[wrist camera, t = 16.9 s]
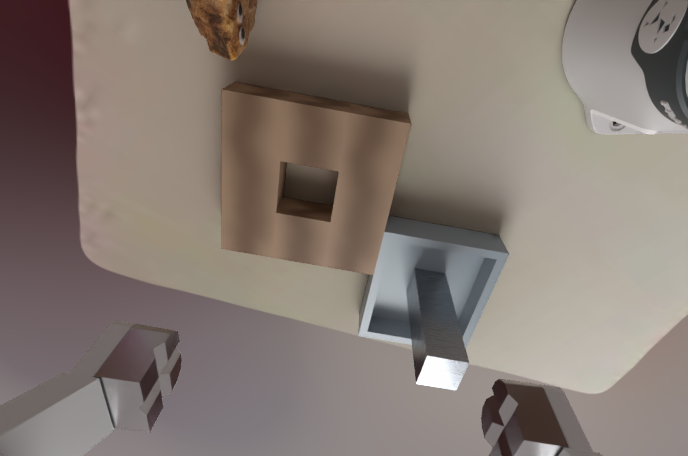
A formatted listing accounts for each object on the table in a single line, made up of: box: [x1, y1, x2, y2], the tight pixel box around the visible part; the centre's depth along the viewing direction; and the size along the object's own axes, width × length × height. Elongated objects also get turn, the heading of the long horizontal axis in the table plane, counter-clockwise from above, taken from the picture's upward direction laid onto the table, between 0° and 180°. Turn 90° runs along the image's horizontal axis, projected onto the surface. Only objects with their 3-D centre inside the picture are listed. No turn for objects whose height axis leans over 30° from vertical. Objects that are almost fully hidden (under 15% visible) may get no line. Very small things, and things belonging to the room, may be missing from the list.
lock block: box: [221, 82, 411, 275], centre depth 43 cm, size 18×18×4 cm
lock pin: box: [406, 268, 469, 390], centre depth 43 cm, size 4×4×14 cm
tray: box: [358, 216, 509, 349], centre depth 48 cm, size 14×16×4 cm
